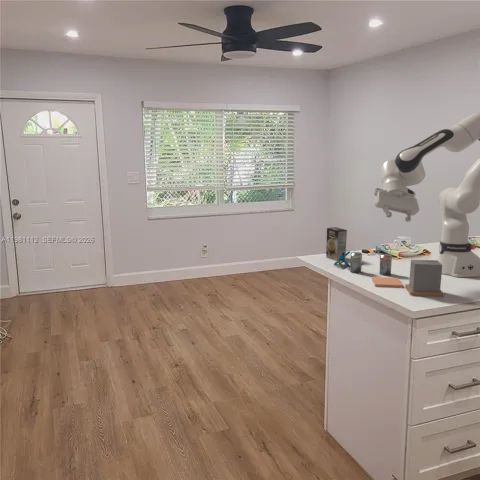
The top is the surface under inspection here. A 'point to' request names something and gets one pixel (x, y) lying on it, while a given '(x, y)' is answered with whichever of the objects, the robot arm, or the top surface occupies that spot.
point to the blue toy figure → (342, 260)
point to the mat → (386, 282)
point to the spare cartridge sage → (356, 262)
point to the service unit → (425, 278)
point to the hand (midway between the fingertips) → (398, 218)
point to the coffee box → (336, 243)
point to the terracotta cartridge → (385, 264)
